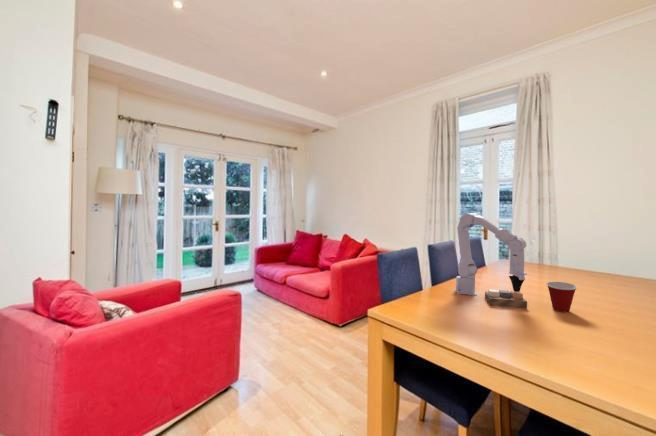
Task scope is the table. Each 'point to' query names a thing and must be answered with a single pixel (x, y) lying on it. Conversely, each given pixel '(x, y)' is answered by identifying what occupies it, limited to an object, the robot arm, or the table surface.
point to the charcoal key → (505, 294)
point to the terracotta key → (516, 295)
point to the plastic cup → (561, 295)
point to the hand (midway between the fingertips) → (516, 291)
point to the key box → (506, 302)
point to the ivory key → (493, 293)
